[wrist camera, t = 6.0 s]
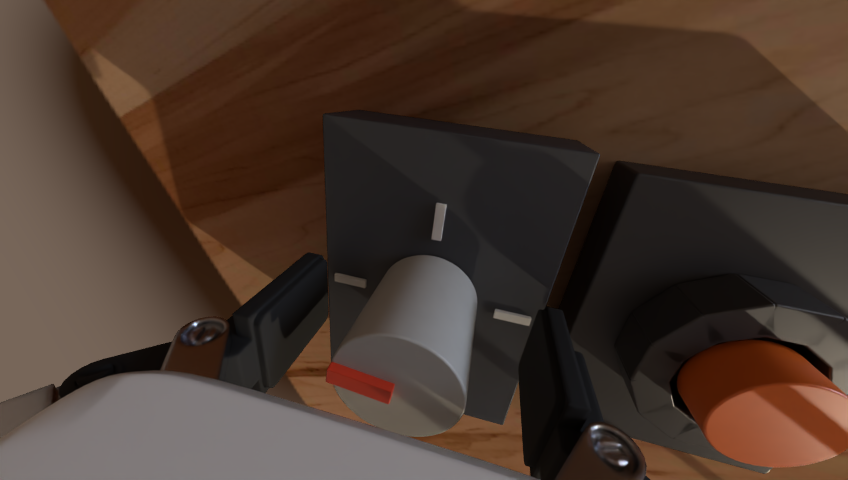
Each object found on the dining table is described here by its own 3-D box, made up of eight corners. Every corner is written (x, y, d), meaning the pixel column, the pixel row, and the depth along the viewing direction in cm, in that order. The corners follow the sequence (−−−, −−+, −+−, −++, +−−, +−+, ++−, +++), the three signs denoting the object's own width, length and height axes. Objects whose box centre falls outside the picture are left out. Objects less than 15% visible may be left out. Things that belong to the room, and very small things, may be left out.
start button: (766, 427, 11) (810, 481, 10) (657, 400, 12) (682, 447, 10) (838, 354, 9) (904, 406, 8) (707, 327, 10) (745, 369, 8)
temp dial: (490, 272, 12) (485, 375, 7) (462, 347, 13) (443, 464, 9) (390, 241, 12) (329, 322, 8) (375, 318, 14) (320, 417, 10)
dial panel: (502, 376, 18) (503, 429, 15) (354, 337, 19) (329, 380, 16) (578, 140, 12) (602, 154, 9) (357, 109, 13) (319, 113, 10)
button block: (733, 428, 16) (801, 525, 12) (531, 376, 17) (540, 449, 14) (933, 206, 10) (1157, 264, 7) (615, 159, 12) (664, 187, 8)
